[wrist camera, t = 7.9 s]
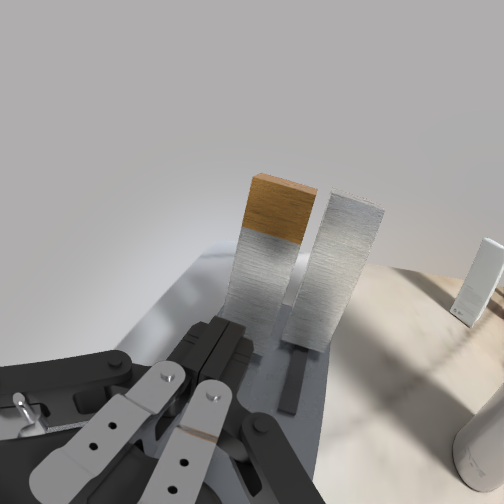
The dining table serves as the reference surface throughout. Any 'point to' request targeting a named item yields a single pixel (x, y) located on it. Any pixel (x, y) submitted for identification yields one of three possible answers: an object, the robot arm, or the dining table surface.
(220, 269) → the dining table surface
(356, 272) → the grey upright block
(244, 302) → the knob orange
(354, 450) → the dining table surface
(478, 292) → the skincare box
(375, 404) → the dining table surface
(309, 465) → the console
